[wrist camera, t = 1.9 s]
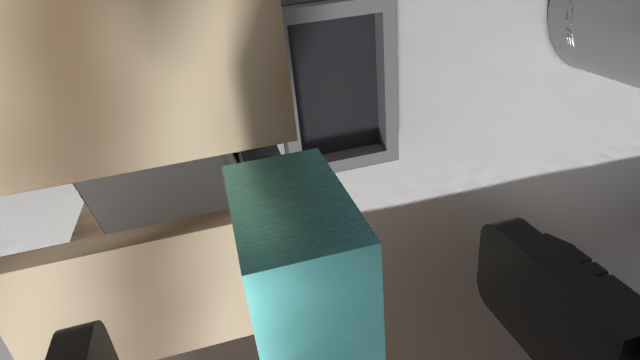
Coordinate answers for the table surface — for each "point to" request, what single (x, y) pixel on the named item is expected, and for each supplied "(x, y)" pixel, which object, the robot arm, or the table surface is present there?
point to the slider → (305, 258)
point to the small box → (157, 194)
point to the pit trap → (344, 80)
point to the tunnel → (134, 160)
